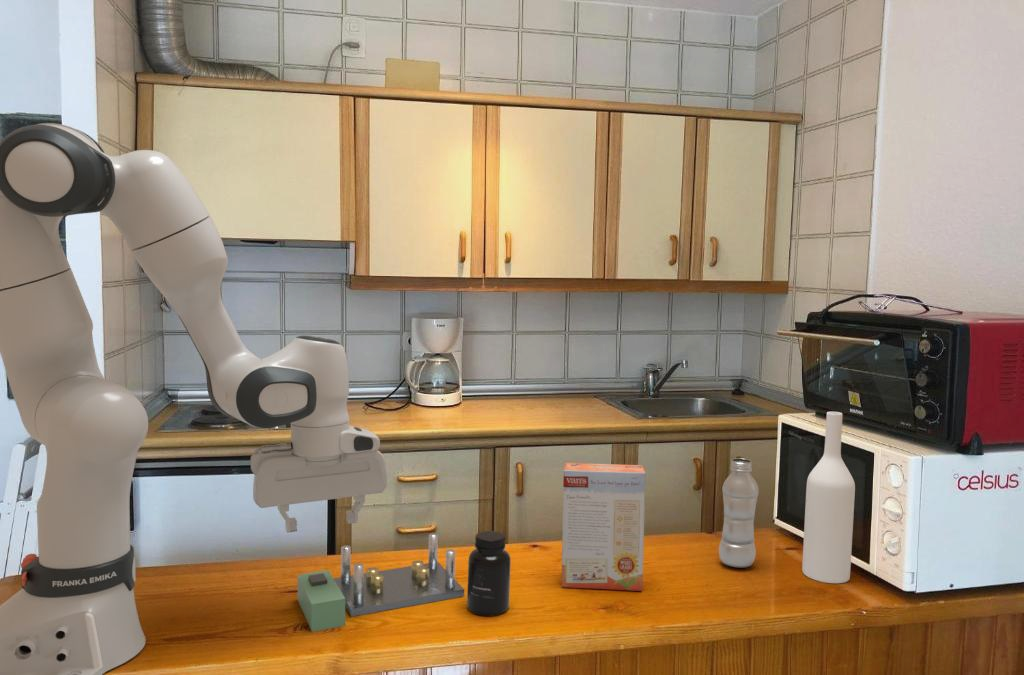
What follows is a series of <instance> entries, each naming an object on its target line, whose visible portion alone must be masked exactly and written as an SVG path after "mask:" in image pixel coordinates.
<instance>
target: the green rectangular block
mask: <svg viewBox="0 0 1024 675" xmlns="http://www.w3.org/2000/svg"><path fill="white" fill-rule="evenodd" d="M296 576H297V602H298V604H299V607H300V609H301V610H302V612H303V615H304V617H305V620H306V621H307V624H308V626H309V629H310V630H311V632H312V633H313V632H319V631H325V630H328V629H329V630H330V629H334V628H335V629H336V628H340V627H344V626H346V607H345V597H344V596H343V594H342V592H341V591H340V589H339V587H338V586H337V584H336V582H335V580H334V579H333V578H334V577H333V575H332V574H331V572H330V570H328V569H326V570H320V571H313V572H306V573H300V574H297V575H296Z"/></svg>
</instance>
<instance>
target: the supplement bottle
mask: <svg viewBox="0 0 1024 675" xmlns="http://www.w3.org/2000/svg"><path fill="white" fill-rule="evenodd" d="M474 548H475V549H473V550H472V551H471V552H470V553H469V555H468V562H467V564H468V565H467V592H466V597H467V599H466V600H467V601H466V603H467V604H466V605H467V608H468V610H469V611H470V612H472V613H473V614H475V615H478V614H479V616H483V615H495V616H498V615H497V614H499V615H501V614H500V613H502V614H504V613H505V612H506V611H507V610H508V609H509V606H510V592H511V590H510V588H511V565H512V564H511V562H512V560H511V556H510V554H509V552H508V551H507V550H506V535H505V534H504V533H503V532H500V531H495V530H484V531H479V532H477V533H476V534H475V542H474ZM503 612H504V613H503Z"/></svg>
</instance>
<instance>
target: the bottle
mask: <svg viewBox="0 0 1024 675" xmlns="http://www.w3.org/2000/svg"><path fill="white" fill-rule="evenodd" d="M842 433H843V413H842V412H840V411H827V412H826V418H825V436H824V437H825V438H824V450H823V455H822V456H821V458H820V460H819V461H818V462H817V464H816V465H815V466H814V467H813V469H812V470H811V471H810V472H809V474H808V476H807V480H806V489H805V507H804V508H805V509H804V510H805V511H804V525H803V526H804V527H803V528H804V529H803V547H802V563H801V564H802V565H801V566H802V573H803V574H804V575H805V576H806V577H807V578H809V579H811V580H814V581H817V582H820V583H825V584H826V583H827V584H843V583H847V582H848V581H850V579H851V578H850V577H851V569H852V568H851V566H852V551H853V550H852V548H853V546H852V545H853V534H854V533H853V532H854V530H853V529H854V517H855V516H854V511H855V498H856V497H855V495H856V493H855V492H856V484H855V480H854V478H853V476H852V474H851V472H850V471H849V468H848V467H847V466H846V464H845V462H844V460H843V458H842V454H841V453H842V451H841V450H842Z"/></svg>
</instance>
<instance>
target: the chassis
mask: <svg viewBox="0 0 1024 675" xmlns="http://www.w3.org/2000/svg"><path fill="white" fill-rule="evenodd" d="M438 537H439V535H438V533H435V532H432V533H429V534H428V563H424V561H422V560H413V561H412V562H411V565H410V566H409V565H408V566H402V567H398V568H397V567H395V568H389V569H384V570H379V568H377V567H367V568H366V570H365V571H364V569H365V568H364V564H363V563H357V562H356V563H354V564H353V565H351V564H352V559H351V558H352V555H351V553H352V551H351V550H352V549H351V548H352V546H351V545H347V544H346V545H342V546H341V547H340V576H339V577H333V579H334V580H335V582H336V584H337V586H338V587H339V589H340V591H341V592H342V594H343V596H344V597H345V610H346V611H347V612H348V614H349V616H350V617H357V616H364V615H368V614H373V613H378V612H379V613H380V612H385V611H390V610H395V609H402V608H406V607H412V606H413V607H414V606H417V605H419V606H420V605H423V604H428V603H434V602H440V601H445V600H451V598H452V599H456V598H455V597H457V598H461V597H460V596H463V597H465V588H464V587H463V586H462V585H461V584H460V583H459V582H458V581H457V580H456V550H455V549H447V550H445V567H444V566H442V565H441V564H440V562H438V559H439V558H438V553H439V552H438V550H439V548H438V545H439V542H438V540H439V538H438ZM351 567H353V568H351ZM351 570H353V572H352V571H351ZM352 573H353V574H352Z"/></svg>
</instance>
